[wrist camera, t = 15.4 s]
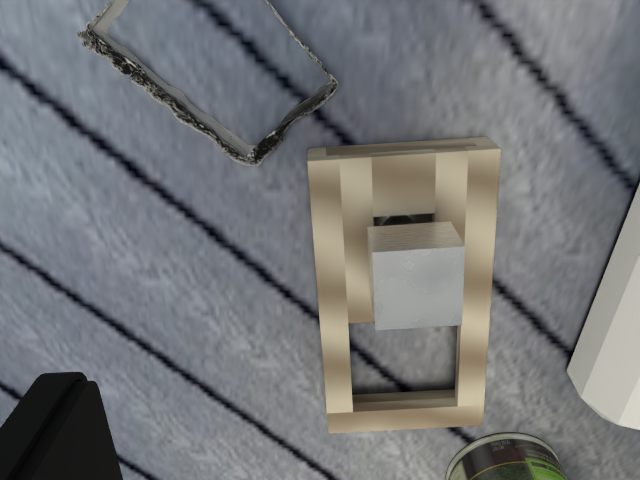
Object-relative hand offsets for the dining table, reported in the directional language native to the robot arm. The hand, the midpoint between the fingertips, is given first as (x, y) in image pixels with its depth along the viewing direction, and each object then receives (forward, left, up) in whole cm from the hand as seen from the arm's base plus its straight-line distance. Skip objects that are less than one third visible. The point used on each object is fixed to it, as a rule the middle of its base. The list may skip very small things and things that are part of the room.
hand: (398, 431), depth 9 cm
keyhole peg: (-9, -4, -30) cm, 32 cm away
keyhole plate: (-14, -4, -30) cm, 33 cm away
